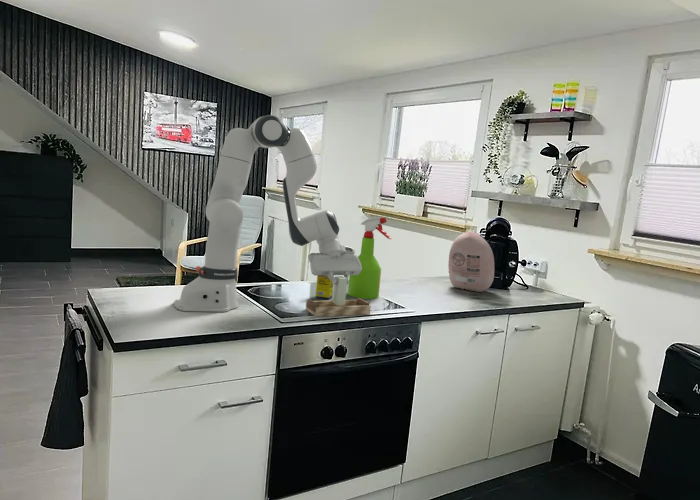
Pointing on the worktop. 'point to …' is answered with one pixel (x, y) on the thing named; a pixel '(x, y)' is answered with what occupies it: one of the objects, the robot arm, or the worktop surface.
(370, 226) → the spray bottle
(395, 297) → the worktop surface
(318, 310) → the wooden tray
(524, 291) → the worktop surface
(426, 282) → the worktop surface
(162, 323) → the worktop surface
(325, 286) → the supplement box
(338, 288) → the pale grey-green block
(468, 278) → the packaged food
